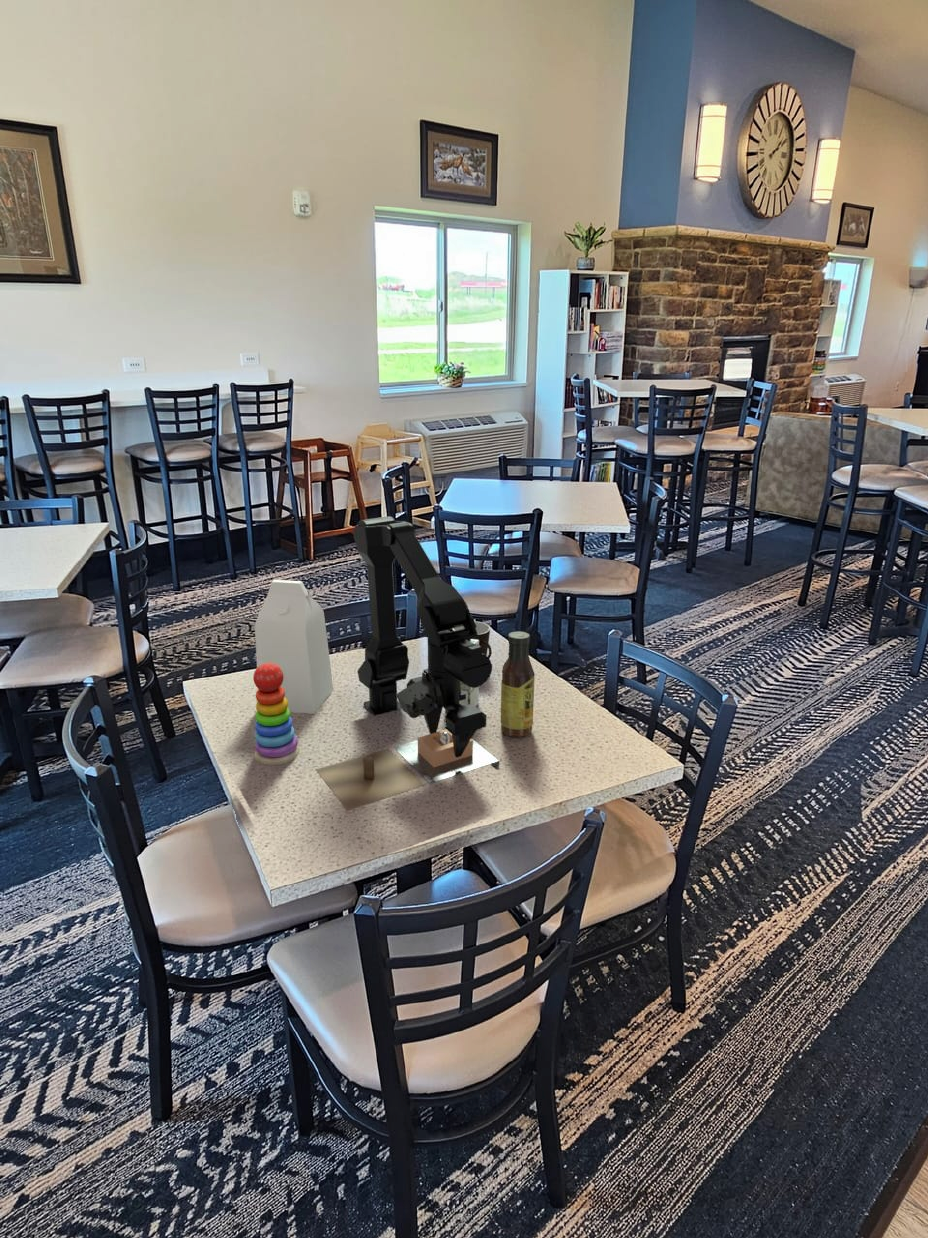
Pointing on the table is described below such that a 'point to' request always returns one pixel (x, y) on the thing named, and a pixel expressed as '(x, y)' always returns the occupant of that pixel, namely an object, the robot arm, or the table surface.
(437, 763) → the square tube wooden block
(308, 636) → the milk
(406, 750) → the hub base
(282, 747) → the stacking toy
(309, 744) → the table surface
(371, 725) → the table surface
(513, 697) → the sauce bottle
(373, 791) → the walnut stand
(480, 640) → the coffee mug
